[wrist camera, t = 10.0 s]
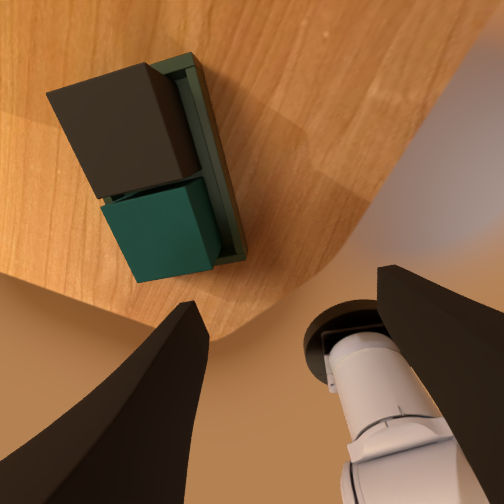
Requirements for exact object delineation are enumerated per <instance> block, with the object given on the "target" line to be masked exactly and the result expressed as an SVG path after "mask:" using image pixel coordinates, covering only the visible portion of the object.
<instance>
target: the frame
mask: <svg viewBox="0 0 504 504" xmlns="http://www.w3.org/2000/svg"><path fill="white" fill-rule="evenodd" d="M150 66H151V67H153V68H154V69H156V70H157V71H159V72H160V73H162V74H163V75H165V76H166V77H168V78H169V79H171V80H173V81H174V82H176V84H177V87H178V90H179V94H180V97H181V100H182V104H183V107H184V110H185V114H186V117H187V121H188V124H189V127H190V131H191V134H192V137H193V141H194V144H195V148H196V151H197V154H198V158H199V161H200V164H201V168H202V170H200V171H198V172H196V173H194V174H192V175H190V176H188V177H186V178H184V179H181V180H177V181H172V182H168V183H164V184H160V185H156V186H151V187H147V188H143V189H139V190H135V191H130V192H126V193H122V194H118V195H114V196H109V197H105V198H103V200H104V202H105V204H109V203H111V202H113V201H116V200H118V199H121V198H123V197H126V196H128V195H131V194H133V193H135V192H139V191H143V190H147V189H152V188H156V187H160V186H164V185H169V184H173V183H177V182H181V181H185V180H190V179H194V178H198V177H202V176H203V177H204V180H205V184H206V187H207V190H208V194H209V197H210V200H211V204H212V207H213V210H214V214H215V217H216V220H217V224H218V227H219V231H220V234H221V237H222V241H223V244H222V247H221V249H220V252H219V255H218V257H217V260H216V262H215V265H214V266H218V265H223V264H228V263H234V262H239V261H245V260H246V258H247V252H248V247H247V243H246V239H245V235H244V231H243V227H242V223H241V219H240V216H239V212H238V208H237V204H236V200H235V196H234V192H233V188H232V184H231V180H230V176H229V172H228V168H227V165H226V161H225V157H224V153H223V149H222V145H221V141H220V137H219V133H218V129H217V125H216V121H215V117H214V114H213V110H212V106H211V102H210V98H209V94H208V90H207V86H206V82H205V78H204V74H203V70H202V66H201V63H200V62H199V61H198V59H197V58H196V57H195V56H194V55H193V53H192V52H189V53H186V54H183V55H179V56H176V57H173V58H170V59H167V60H163V61H160V62H157V63H154V64H150Z"/></svg>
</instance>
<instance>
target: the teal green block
mask: <svg viewBox="0 0 504 504" xmlns="http://www.w3.org/2000/svg"><path fill="white" fill-rule="evenodd" d="M100 208H101V210H102V212H103V214H104V216H105V218H106V220H107V222H108V224H109V226H110V228H111V230H112V233H113V235H114V237H115V239H116V241H117V243H118V245H119V247H120V249H121V251H122V253H123V255H124V257H125V259H126V261H127V263H128V265H129V267H130V269H131V271H132V273H133V275H134V277H135V279H136V281H137V283H141V282H147V281H152V280H158V279H163V278H169V277H174V276H180V275H185V274H191V273H196V272H202V271H207V270H212V269H213V267H214V265H215V262H216V260H217V257H218V255H219V252H220V249H221V247H222V244H223V241H222V237H221V234H220V231H219V227H218V224H217V220H216V217H215V214H214V210H213V207H212V204H211V200H210V197H209V194H208V190H207V187H206V184H205V180H204V177H203V176H202V177H198V178H194V179H190V180H185V181H181V182H177V183H173V184H169V185H164V186H160V187H156V188H152V189H147V190H143V191H139V192H135V193H133V194H131V195H128V196H126V197H123V198H121V199H118V200H116V201H113V202H111V203H109V204H106V205H104V206H101V207H100Z"/></svg>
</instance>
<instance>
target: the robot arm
mask: <svg viewBox="0 0 504 504" xmlns="http://www.w3.org/2000/svg"><path fill="white" fill-rule="evenodd" d="M377 270H378V272H377V275H378V276H377V311H378V313H379V315H380V317H381V319H382V321H383V323H380V324H373V325H366V326H359V327H351V328H344V329H337V330H330V331H324V332H322V334H321V338H322V345H323V352H324V359H325V366H326V373H327V381H328V386H329V391H330V392H331V393H338V394H339V398H340V401H341V405H342V408H343V411H344V415H345V418H346V422H347V425H348V428H349V432H350V435H351V438H352V443H350V444H348V445H347V447H348V451H349V455H350V458H351V461H347V462H345V463H344V465H343V469H342V474H341V480H340V486H341V495H342V501H343V504H504V313H503V312H500V311H498V310H495V309H493V308H490V307H488V306H485V305H483V304H480V303H478V302H476V301H473V300H471V299H469V298H467V297H464V296H462V295H460V294H457V293H455V292H453V291H451V290H449V289H446V288H444V287H442V286H440V285H438V284H436V283H433V282H431V281H429V280H427V279H425V278H423V277H421V276H419V275H417V274H414V273H412V272H410V271H408V270H406V269H404V268H402V267H399V266H397V265H389V266H384V267H378V269H377ZM209 337H210V336H209V334H208V331H207V329H206V327H205V324H204V322H203V320H202V317H201V315H200V313H199V310H198V308H197V306H196V303H195V301H188V302H182V303H180V304H179V305H178V306H176V308H175V309H174V310H173V311H172V312H171V313H170V314H169V315H168V316H167V317H166V318H165V319H164V320H163V321H162V323H161V324H160V325H159V326H158V327H157V328H156V329H155V330H154V331H153V333H151V335H150V336H149V337H148V338H147V339H146V340H145V341H144V342H143V343H142V344H141V345H140V346H139V347H138V348H137V349H136V350H135V351H134V352H133V353H132V354H131V355H130V356H129V357H128V358H127V359H126V360H125V361H124V362H123V363H122V364H121V365H120V366H119V367H118V368H117V369H116V370H115V371H114V372H113V373H112V374H111V375H110V376H109V377H108V378H106V379H105V380H104V381H103V382H102V383H101V384H100V385H99V386H97V387H96V388H95V389H94V390H93V391H92V392H91V393H90V394H88V395H87V396H86V397H85V398H83V400H81V401H80V402H78V403H77V404H76V405H75V406H74V407H72V408H71V409H70V410H69V411H67V412H66V413H65V414H63V415H62V416H61V417H60V418H58V419H57V420H56V421H55V422H53V423H52V424H51V425H50V426H49V427H47V428H46V429H44V430H43V431H42V432H40V433H39V434H38V435H36V436H35V437H34V438H32V439H31V440H29V441H28V442H27V443H25V444H24V445H23V446H21V447H20V448H18V449H17V450H16V451H14V452H13V453H11V454H10V455H8V456H7V457H6V458H4V459H3V460H1V461H0V504H184V495H185V485H186V476H187V467H188V459H189V452H190V444H191V437H192V431H193V425H194V420H195V415H196V411H197V406H198V401H199V397H200V393H201V388H202V383H203V379H204V374H205V370H206V365H207V359H208V350H209ZM325 339H327V340H325ZM401 352H402V353H401ZM402 354H403V355H404V356H403V355H402ZM404 357H405V358H406V360H407V361H408V362H409V364H410V365H411V367H412V368H413V370H414V371H415V373H416V374H417V376H418V377H419V379H420V380H421V382H422V383H423V385H424V386H425V387H426V389H427V390H428V392H429V393H430V395H431V397H432V398H433V400H434V402H435V403H436V405H437V406H438V408H439V410H440V412H441V413H442V415H443V416H442V415H441V414H440V412H439V411H438V409H437V408H436V406H435V404H434V403H433V401H432V400H431V398H430V397H429V395H428V394H427V392H426V391H425V389H424V387H423V386H422V384H421V383H420V381H419V380H418V378H417V377H416V375H415V374H414V372H413V370H412V369H411V367H410V366H409V364H408V363H407V361H406V360H405V358H404Z"/></svg>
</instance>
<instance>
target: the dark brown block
mask: <svg viewBox="0 0 504 504" xmlns="http://www.w3.org/2000/svg"><path fill="white" fill-rule="evenodd" d="M46 96H47V98H48V100H49V102H50V104H51V106H52V108H53V110H54V112H55V114H56V116H57V118H58V120H59V122H60V124H61V126H62V128H63V130H64V132H65V134H66V136H67V138H68V140H69V142H70V145H71V147H72V149H73V151H74V153H75V155H76V157H77V159H78V161H79V163H80V165H81V167H82V169H83V171H84V173H85V175H86V177H87V179H88V181H89V183H90V185H91V187H92V189H93V192H94V194H95V196H96V198H97V199H101V198H105V197H109V196H114V195H118V194H122V193H126V192H130V191H135V190H139V189H143V188H147V187H151V186H156V185H160V184H164V183H168V182H172V181H177V180H181V179H184V178H186V177H188V176H190V175H192V174H194V173H196V172H198V171H200V170H202V168H201V164H200V161H199V158H198V154H197V151H196V148H195V144H194V141H193V137H192V134H191V131H190V127H189V124H188V121H187V117H186V114H185V110H184V107H183V104H182V100H181V97H180V94H179V90H178V87H177V84H176V82H174V81H173V80H171V79H169V78H168V77H166V76H165V75H163V74H162V73H160V72H159V71H157V70H156V69H154V68H153V67H151V66H150V65H148V64H146V63H145V62H143V63H140V64H137V65H134V66H130V67H127V68H124V69H121V70H118V71H114V72H111V73H108V74H105V75H102V76H98V77H95V78H92V79H89V80H86V81H82V82H79V83H76V84H73V85H70V86H66V87H63V88H60V89H57V90H54V91H50V92H47V93H46Z"/></svg>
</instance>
